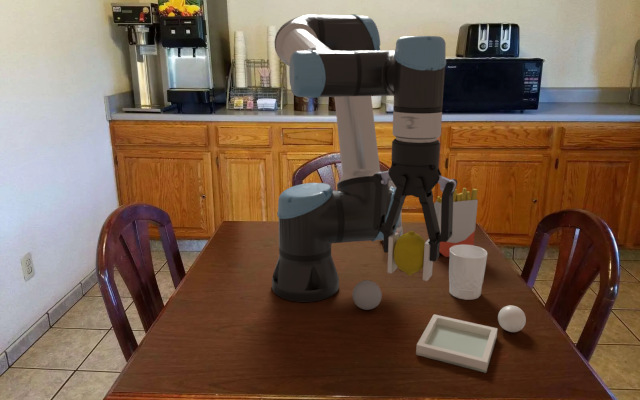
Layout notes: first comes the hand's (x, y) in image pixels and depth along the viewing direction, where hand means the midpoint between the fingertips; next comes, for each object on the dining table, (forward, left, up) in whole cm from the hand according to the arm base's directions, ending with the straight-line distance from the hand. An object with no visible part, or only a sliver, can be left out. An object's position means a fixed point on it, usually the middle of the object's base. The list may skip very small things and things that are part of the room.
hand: (409, 273), depth 87 cm
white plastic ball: (+16, +16, -15) cm, 27 cm away
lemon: (0, 0, -1) cm, 1 cm away
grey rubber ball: (-12, +12, -15) cm, 23 cm away
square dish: (+8, +6, -15) cm, 18 cm away
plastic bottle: (-20, +51, -15) cm, 57 cm away
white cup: (+5, +28, -15) cm, 32 cm away
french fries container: (-3, +50, -15) cm, 52 cm away
